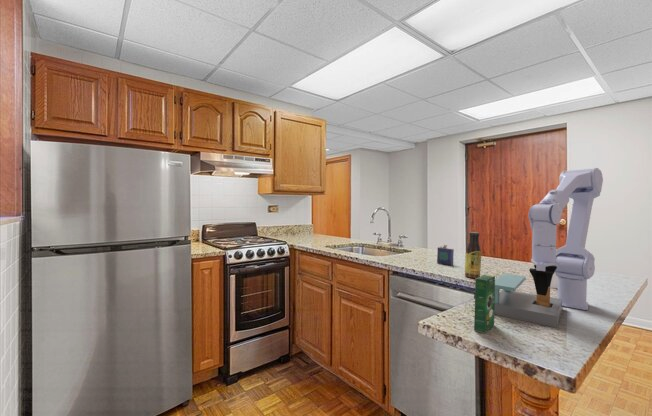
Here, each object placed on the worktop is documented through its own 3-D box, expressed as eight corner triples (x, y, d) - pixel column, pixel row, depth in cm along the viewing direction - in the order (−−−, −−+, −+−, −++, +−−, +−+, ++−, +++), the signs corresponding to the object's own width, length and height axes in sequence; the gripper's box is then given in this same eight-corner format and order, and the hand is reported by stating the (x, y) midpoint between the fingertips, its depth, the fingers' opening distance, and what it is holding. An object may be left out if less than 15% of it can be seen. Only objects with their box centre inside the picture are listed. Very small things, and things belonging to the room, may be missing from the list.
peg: (536, 311, 92) (537, 284, 92) (550, 314, 90) (550, 286, 89) (535, 314, 89) (536, 286, 89) (548, 317, 87) (549, 288, 87)
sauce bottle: (471, 279, 132) (472, 233, 132) (461, 275, 139) (462, 231, 138) (484, 278, 134) (485, 232, 134) (473, 275, 140) (474, 231, 140)
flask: (454, 265, 163) (454, 245, 163) (451, 266, 162) (451, 245, 161) (438, 262, 171) (438, 243, 171) (435, 263, 169) (435, 244, 169)
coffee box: (483, 322, 82) (484, 273, 82) (495, 325, 80) (496, 274, 80) (473, 330, 77) (474, 278, 76) (485, 334, 75) (486, 280, 74)
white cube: (539, 286, 122) (540, 268, 122) (542, 283, 127) (543, 266, 127) (561, 289, 117) (561, 271, 117) (563, 286, 122) (563, 269, 122)
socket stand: (503, 298, 105) (503, 273, 105) (562, 308, 94) (562, 281, 94) (488, 312, 90) (489, 283, 90) (556, 327, 79) (557, 294, 79)
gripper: (559, 249, 81) (558, 300, 81) (562, 244, 92) (562, 289, 92) (527, 246, 86) (526, 295, 86) (534, 242, 97) (533, 285, 97)
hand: (543, 292), depth 89 cm, fingers open, 7 cm apart
